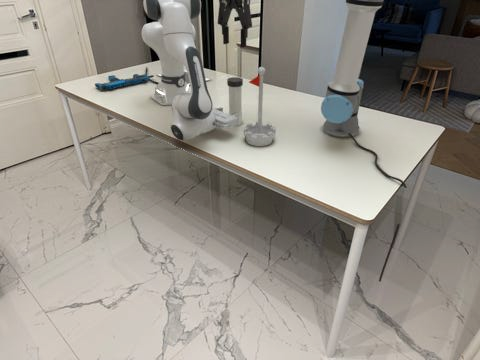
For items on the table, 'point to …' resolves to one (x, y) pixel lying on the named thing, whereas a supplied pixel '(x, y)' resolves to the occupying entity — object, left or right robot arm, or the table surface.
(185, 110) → the left robot arm
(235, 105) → the jar
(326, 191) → the table surface
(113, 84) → the submachine gun
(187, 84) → the tablet
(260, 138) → the flag stand
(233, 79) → the lid
